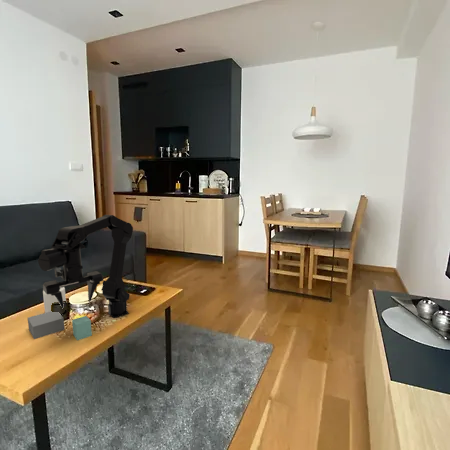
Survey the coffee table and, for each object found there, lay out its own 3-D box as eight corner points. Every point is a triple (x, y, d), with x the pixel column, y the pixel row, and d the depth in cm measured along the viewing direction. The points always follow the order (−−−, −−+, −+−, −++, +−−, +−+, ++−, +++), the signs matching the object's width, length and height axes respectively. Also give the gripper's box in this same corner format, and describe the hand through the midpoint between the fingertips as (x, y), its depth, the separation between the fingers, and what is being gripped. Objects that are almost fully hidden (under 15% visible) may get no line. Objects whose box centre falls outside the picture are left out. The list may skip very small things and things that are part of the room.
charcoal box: (57, 321, 121) (56, 309, 120) (64, 330, 113) (63, 318, 113) (28, 329, 114) (27, 317, 113) (34, 339, 107) (32, 326, 106)
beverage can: (70, 309, 131) (68, 283, 129) (58, 318, 123) (56, 290, 121) (53, 309, 132) (51, 283, 130) (40, 317, 124) (37, 290, 122)
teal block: (87, 330, 113) (86, 315, 112) (91, 335, 109) (90, 320, 108) (73, 335, 109) (71, 319, 108) (77, 340, 106) (75, 324, 105)
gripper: (91, 253, 117) (94, 291, 120) (36, 263, 105) (41, 305, 107) (102, 259, 109) (105, 299, 112) (44, 270, 97) (49, 315, 99)
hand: (76, 304), depth 108 cm, fingers open, 9 cm apart
